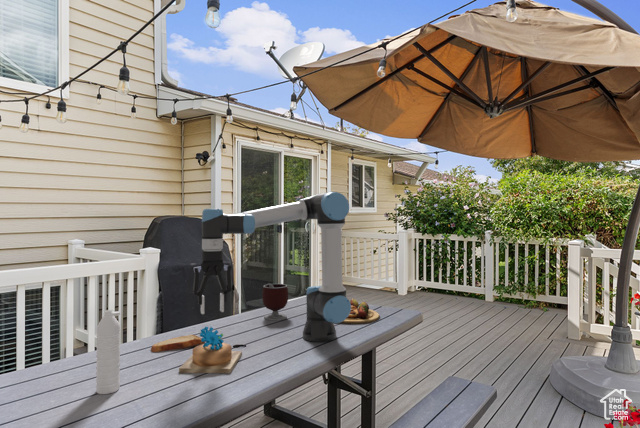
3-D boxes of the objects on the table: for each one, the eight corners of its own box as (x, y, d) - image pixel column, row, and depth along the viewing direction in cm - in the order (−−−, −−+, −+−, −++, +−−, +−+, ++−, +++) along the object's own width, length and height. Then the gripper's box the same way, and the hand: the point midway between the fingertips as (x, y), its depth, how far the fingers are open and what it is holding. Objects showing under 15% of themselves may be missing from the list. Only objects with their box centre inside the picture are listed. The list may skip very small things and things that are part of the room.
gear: (209, 349, 141) (197, 326, 145) (199, 360, 142) (188, 336, 147) (230, 345, 150) (218, 323, 155) (221, 355, 152) (209, 333, 156)
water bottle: (92, 391, 124) (92, 311, 124) (113, 384, 129) (113, 307, 129) (106, 398, 119) (106, 314, 119) (127, 390, 124) (127, 310, 124)
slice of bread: (146, 352, 161) (146, 343, 161) (172, 339, 178) (172, 330, 178) (186, 355, 157) (186, 346, 157) (208, 341, 174) (208, 333, 174)
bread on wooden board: (241, 355, 156) (241, 341, 156) (230, 373, 138) (230, 357, 138) (196, 354, 157) (196, 340, 157) (179, 372, 139) (179, 356, 139)
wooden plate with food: (311, 321, 208) (311, 305, 208) (332, 307, 237) (332, 294, 237) (370, 329, 196) (371, 312, 196) (385, 313, 225) (385, 299, 225)
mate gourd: (269, 313, 224) (269, 277, 224) (292, 315, 219) (292, 279, 219) (256, 320, 209) (256, 282, 209) (280, 322, 204) (280, 283, 205)
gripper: (187, 252, 140) (187, 317, 140) (240, 249, 149) (240, 311, 149) (183, 250, 146) (183, 313, 146) (235, 248, 156) (235, 307, 155)
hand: (212, 312), depth 147 cm, fingers open, 6 cm apart
